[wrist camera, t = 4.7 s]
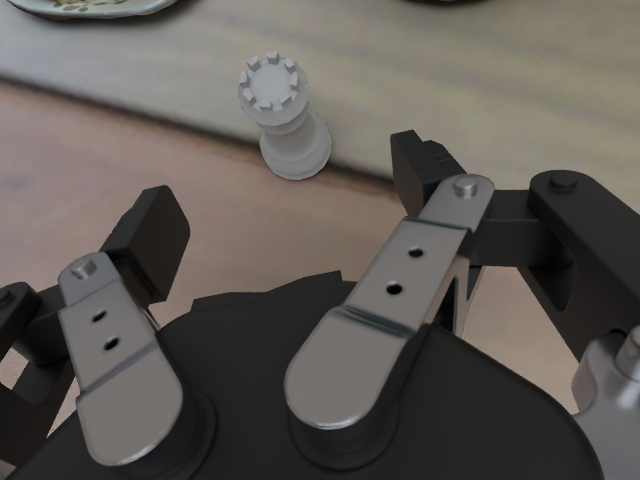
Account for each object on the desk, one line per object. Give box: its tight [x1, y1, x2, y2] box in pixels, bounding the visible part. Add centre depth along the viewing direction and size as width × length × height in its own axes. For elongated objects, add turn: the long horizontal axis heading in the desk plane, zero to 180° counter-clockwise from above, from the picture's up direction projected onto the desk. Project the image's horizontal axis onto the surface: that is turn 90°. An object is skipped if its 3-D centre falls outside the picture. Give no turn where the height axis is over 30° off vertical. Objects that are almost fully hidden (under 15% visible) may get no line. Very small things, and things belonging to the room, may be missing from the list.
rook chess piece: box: [238, 51, 332, 180], centre depth 19 cm, size 4×4×8 cm
